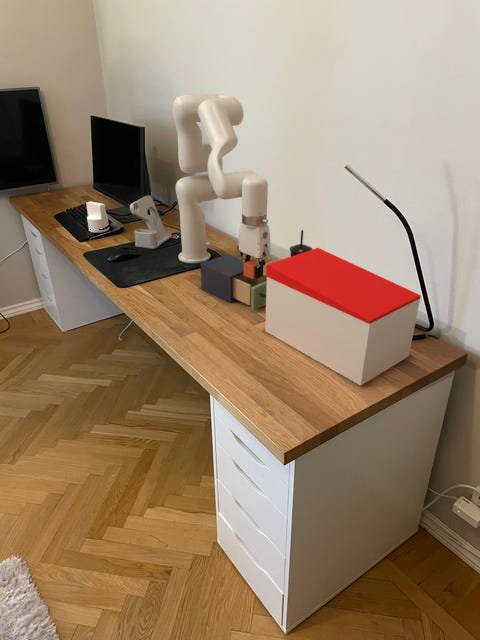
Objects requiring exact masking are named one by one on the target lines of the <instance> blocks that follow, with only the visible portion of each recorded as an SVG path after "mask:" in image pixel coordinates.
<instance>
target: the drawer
mask: <svg viewBox="0 0 480 640" xmlns="http://www.w3.org/2000/svg"><path fill="white" fill-rule="evenodd" d="M266 289H267V277H266V273H263V276H262V277H260V278H257V279H256V278H255V279H251V278H249V277H246V276H244V275H243V274H242V275H240V276H237V277H235V278H232V297H233V298H235V299H237V300H236V301H239V302H242V303H244V304H246V305H247V306H250V309H251V310H253V311H256V310H257V309H259V308H261V307H263V306H266Z"/></svg>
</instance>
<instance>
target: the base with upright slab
mask: <svg viewBox="0 0 480 640" xmlns="http://www.w3.org/2000/svg"><path fill="white" fill-rule="evenodd" d="M85 204H86V205H85V206H86V210H87V212H86V213H87V216H86V220H87V227H88V232H90V233H94V234H95V233H96V234H97V233H104V232H107V231H109V230H110V225H109V218H108V217H109V216H108V215H107V211H106V210H107V209H106V204H105V203H101V202H97V201H87V202H85ZM108 225H109V227H108V228H107V229H104V230H99V229H103V228H105V227H107V226H108ZM90 229H91V230H90Z"/></svg>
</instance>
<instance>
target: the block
mask: <svg viewBox="0 0 480 640" xmlns="http://www.w3.org/2000/svg"><path fill="white" fill-rule="evenodd" d="M255 267H256V259H255V258H252V259H250V260H249V261H247V262H244V273H243V275H244V276H246V277H249V278H251V279H255Z"/></svg>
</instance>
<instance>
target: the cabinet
mask: <svg viewBox="0 0 480 640" xmlns="http://www.w3.org/2000/svg"><path fill="white" fill-rule="evenodd" d="M243 264H244V262H243V261H242V258H239V257H237V256H234V255H232V254H229V253H227V254H224V255H222V256H219V257H216V258H213V259H209V260H207V261H205V262H202V263H200V284H201V285H200V286H201V287H200V288H201V290H203V291H205V292H208V293H209V294H212V295H213V296H215V297H218V298H220V299H222V300H224V301H226V302H228V303H230V304H231V303H233V302H235V301H238V300H237V299H235V298H233V297H232V278H235V277H237V276H240V275H242V274H243Z"/></svg>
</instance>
